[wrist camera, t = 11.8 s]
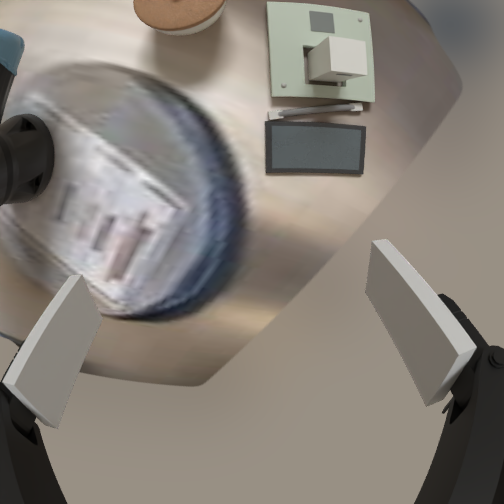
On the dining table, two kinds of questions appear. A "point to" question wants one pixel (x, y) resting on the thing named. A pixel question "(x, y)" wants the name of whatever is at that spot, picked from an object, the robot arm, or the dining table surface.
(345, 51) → the block
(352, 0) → the dining table surface
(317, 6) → the outlet plate
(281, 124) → the phone
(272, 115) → the grey pen
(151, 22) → the lidded jar
